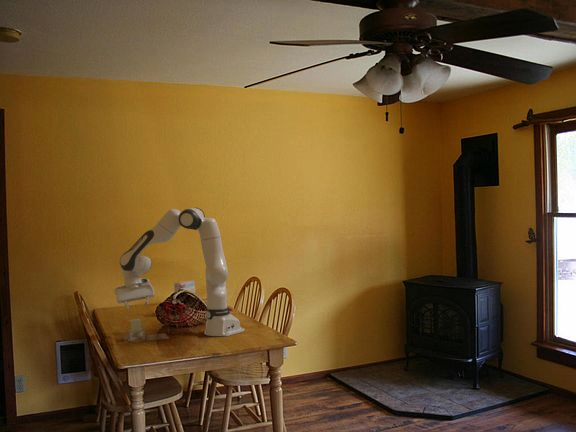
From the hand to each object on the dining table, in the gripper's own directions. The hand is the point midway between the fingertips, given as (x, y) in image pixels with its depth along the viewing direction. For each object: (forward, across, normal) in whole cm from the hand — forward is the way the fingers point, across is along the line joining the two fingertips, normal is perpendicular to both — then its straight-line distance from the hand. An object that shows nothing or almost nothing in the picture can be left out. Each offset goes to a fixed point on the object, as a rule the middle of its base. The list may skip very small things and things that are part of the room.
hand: (138, 307), depth 293 cm
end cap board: (+20, 0, -2) cm, 20 cm away
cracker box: (-9, +36, +48) cm, 60 cm away
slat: (+18, -5, -3) cm, 19 cm away
